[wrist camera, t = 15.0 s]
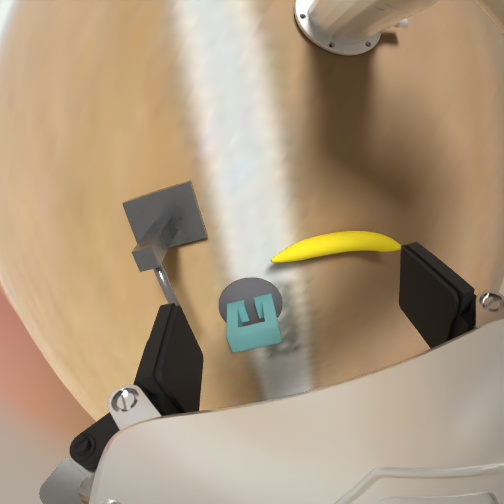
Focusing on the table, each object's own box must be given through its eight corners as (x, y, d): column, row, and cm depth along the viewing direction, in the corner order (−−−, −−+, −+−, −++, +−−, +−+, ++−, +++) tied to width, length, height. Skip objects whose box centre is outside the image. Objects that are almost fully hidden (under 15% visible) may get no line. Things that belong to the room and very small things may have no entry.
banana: (265, 236, 40) (271, 255, 35) (386, 223, 41) (407, 238, 35) (267, 254, 42) (272, 276, 36) (385, 240, 42) (405, 257, 36)
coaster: (275, 270, 43) (275, 272, 42) (286, 321, 47) (287, 323, 46) (210, 286, 43) (210, 287, 43) (228, 334, 47) (228, 336, 47)
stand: (190, 180, 36) (173, 201, 26) (227, 294, 44) (225, 343, 34) (124, 201, 37) (89, 229, 27) (167, 306, 44) (153, 355, 34)
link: (271, 293, 44) (278, 326, 36) (275, 308, 45) (282, 341, 38) (227, 303, 44) (226, 337, 37) (232, 318, 45) (232, 352, 38)
